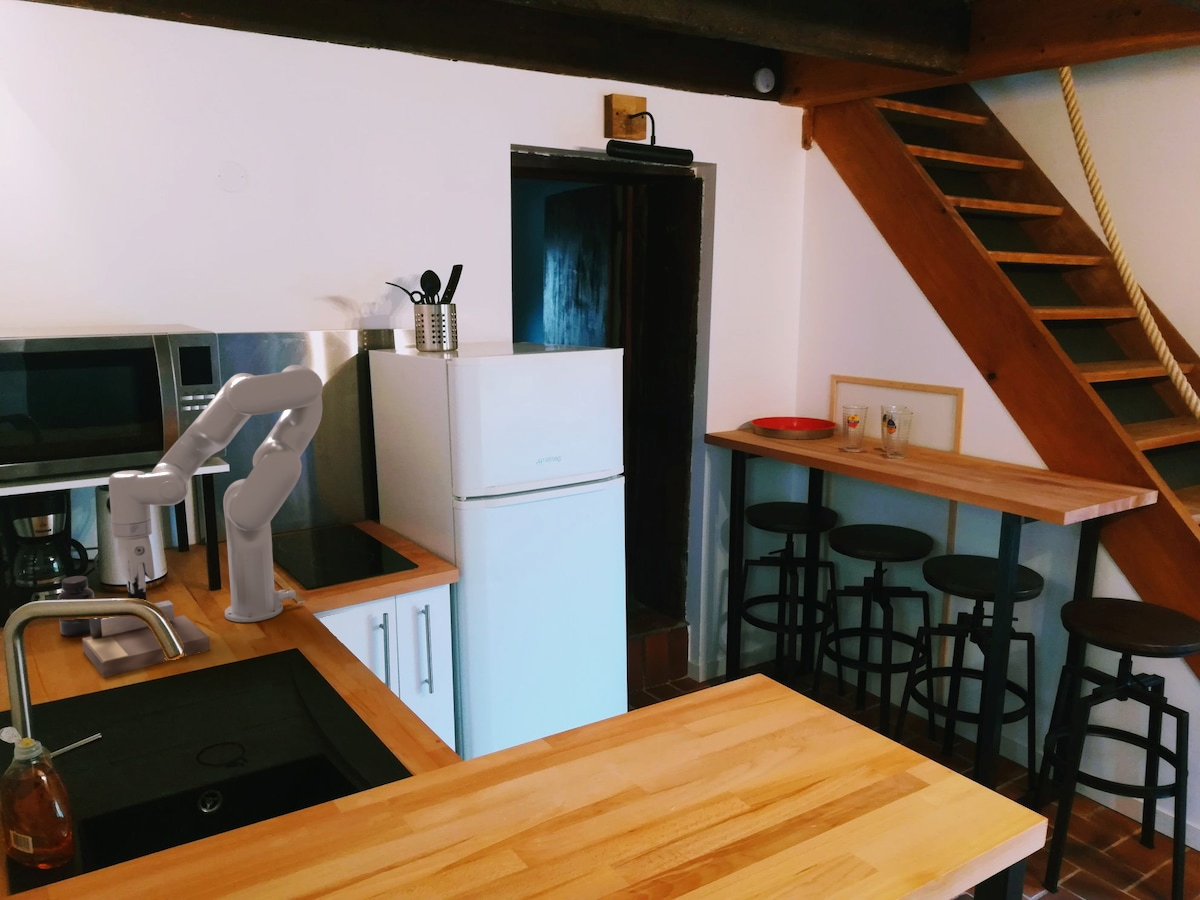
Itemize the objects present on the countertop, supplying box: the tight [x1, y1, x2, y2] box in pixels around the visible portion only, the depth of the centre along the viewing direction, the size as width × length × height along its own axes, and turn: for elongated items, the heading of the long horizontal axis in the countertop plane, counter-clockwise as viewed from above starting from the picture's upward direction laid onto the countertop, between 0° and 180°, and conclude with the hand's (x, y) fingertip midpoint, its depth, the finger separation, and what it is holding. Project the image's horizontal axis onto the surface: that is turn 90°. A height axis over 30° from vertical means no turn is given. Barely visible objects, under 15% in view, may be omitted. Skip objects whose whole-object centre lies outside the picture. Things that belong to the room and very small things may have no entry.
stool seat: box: [81, 614, 211, 678], centre depth 183 cm, size 20×16×3 cm
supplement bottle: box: [57, 575, 95, 637], centre depth 193 cm, size 7×7×12 cm
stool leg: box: [89, 600, 175, 638], centre depth 186 cm, size 16×3×4 cm, turn 132°
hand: (137, 608), depth 194 cm, fingers closed
